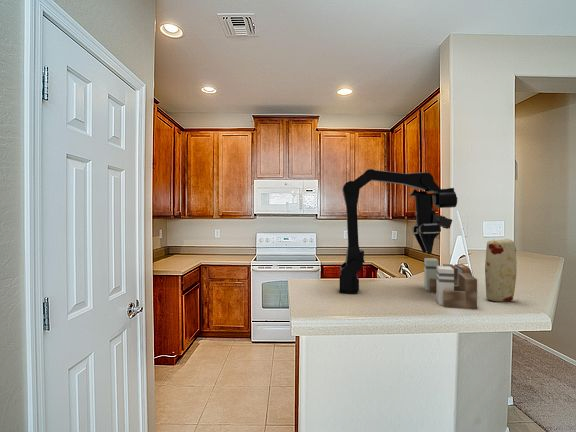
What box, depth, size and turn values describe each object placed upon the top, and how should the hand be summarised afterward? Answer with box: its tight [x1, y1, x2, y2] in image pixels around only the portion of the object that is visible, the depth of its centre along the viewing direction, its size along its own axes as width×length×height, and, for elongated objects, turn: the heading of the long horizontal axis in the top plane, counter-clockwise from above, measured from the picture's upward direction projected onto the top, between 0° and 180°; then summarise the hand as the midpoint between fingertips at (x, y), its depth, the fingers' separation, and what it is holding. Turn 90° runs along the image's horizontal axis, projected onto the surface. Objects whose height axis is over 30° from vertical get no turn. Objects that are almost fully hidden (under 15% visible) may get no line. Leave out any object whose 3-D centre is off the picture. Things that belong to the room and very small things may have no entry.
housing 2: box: [442, 273, 478, 310], centre depth 102 cm, size 9×10×9 cm
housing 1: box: [429, 263, 458, 294], centre depth 120 cm, size 9×10×9 cm
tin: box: [453, 263, 473, 276], centre depth 125 cm, size 15×3×8 cm, turn 168°
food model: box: [484, 238, 518, 303], centre depth 106 cm, size 10×7×20 cm
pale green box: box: [423, 257, 440, 292], centre depth 121 cm, size 4×6×11 cm
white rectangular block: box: [436, 265, 454, 306], centre depth 103 cm, size 4×6×11 cm
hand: (426, 253), depth 115 cm, fingers open, 9 cm apart
